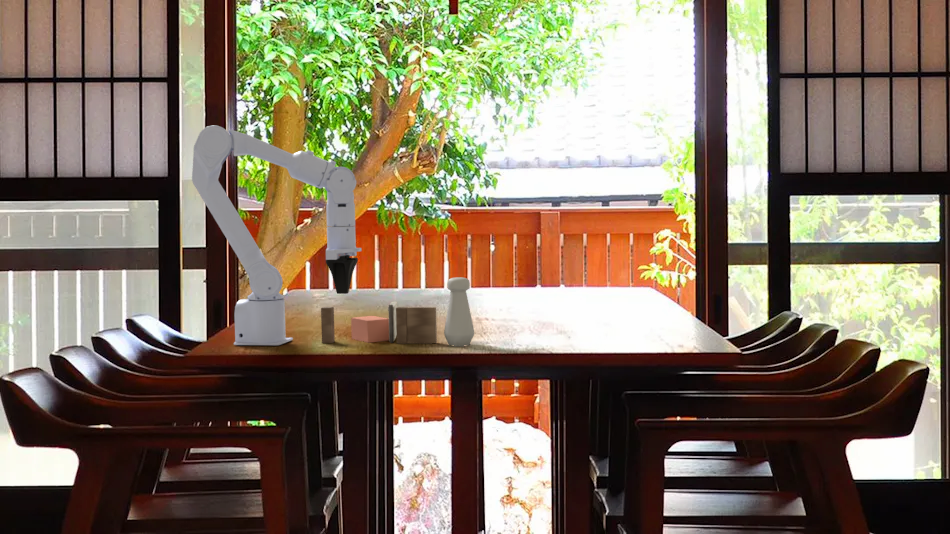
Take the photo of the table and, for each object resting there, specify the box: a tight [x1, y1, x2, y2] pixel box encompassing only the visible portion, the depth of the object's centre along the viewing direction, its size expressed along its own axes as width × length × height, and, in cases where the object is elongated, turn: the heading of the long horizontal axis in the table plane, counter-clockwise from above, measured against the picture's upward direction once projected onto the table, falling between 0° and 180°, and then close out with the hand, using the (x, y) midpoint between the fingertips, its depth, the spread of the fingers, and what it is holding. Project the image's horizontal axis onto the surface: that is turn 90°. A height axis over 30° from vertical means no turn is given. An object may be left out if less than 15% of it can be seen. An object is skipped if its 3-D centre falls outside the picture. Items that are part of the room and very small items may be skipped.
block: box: [350, 315, 389, 344], centre depth 190 cm, size 7×5×4 cm
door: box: [387, 301, 398, 341], centre depth 191 cm, size 11×1×7 cm, turn 1°
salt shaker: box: [443, 276, 475, 347], centre depth 180 cm, size 6×6×13 cm
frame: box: [320, 304, 438, 345], centre depth 185 cm, size 23×2×8 cm, turn 81°
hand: (342, 293), depth 190 cm, fingers closed
